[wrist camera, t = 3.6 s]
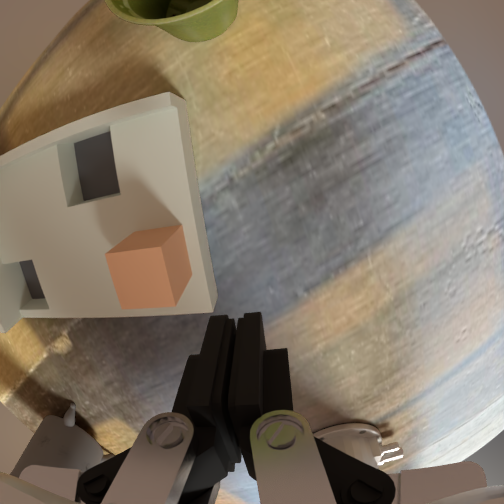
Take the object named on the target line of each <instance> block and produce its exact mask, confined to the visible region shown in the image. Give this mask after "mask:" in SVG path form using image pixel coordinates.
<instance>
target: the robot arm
mask: <svg viewBox="0 0 504 504" xmlns="http://www.w3.org/2000/svg"><path fill="white" fill-rule="evenodd" d="M242 455H243V458H244V461H245V464H246V467H247V470H248V473H249V476H251V477H252V478H253V479H255V480H256V481H257V485H258V491H259V497H260V503H261V504H504V485H498V486H489V487H487V483H486V476H485V473H484V471H483V469H482V468H481V467H480V466H479V465H478V464H477V463H474V462H471V461H468V462H459V463H454V464H448V465H442V466H436V467H429V468H421V469H412V470H401V471H400V473H397V474H386V473H384V472H383V471H381V470H379V467H378V466H381V465H383V463H384V462H388V461H394V460H397V459H401V458H403V449H402V447H399V444H398V442H394V443H390V444H388V445H384V446H382V437H381V434H380V432H379V430H378V429H377V428H375V427H374V426H371V425H368V424H363V423H349V424H342V425H336V426H333V427H329V428H326V429H323V430H320V431H318V432H316V433H314V434H313V433H312V431H311V428H310V425H309V423H308V421H307V420H306V419H305V418H304V417H303V416H302V415H301V414H299V413H296V412H294V411H293V403H292V392H291V382H290V371H289V361H288V351H287V348H283V349H273V350H266V344H265V336H264V329H263V322H262V315H261V312H254V313H244V318H238V323H237V331H236V325H235V321H234V319H229V318H228V316H227V315H218V316H210V319H209V323H208V326H207V330H206V333H205V337H204V341H203V344H202V348H201V352H200V354H197V355H190V356H189V358H188V360H187V363H186V366H185V370H184V373H183V376H182V379H181V383H180V386H179V389H178V392H177V396H176V399H175V402H174V406H173V409H172V412H167V413H162V414H159V415H156V416H154V417H152V418H151V419H150V420H148V421H147V422H146V424H145V425H144V426H143V428H142V429H141V431H140V433H139V435H138V437H137V439H136V440H135V442H134V444H133V446H132V447H131V448H129V449H127V450H125V451H124V452H122V453H120V454H118V455H116V456H114V457H112V458H110V459H108V460H106V461H104V462H102V463H100V464H98V465H96V466H94V467H92V468H90V469H88V470H87V471H85V472H81V471H80V470H79V469H66V468H56V467H47V466H39V465H30V466H28V467H26V468H25V469H24V470H23V471H22V472H21V474H20V476H19V478H17V477H15V476H12V475H9V474H6V473H3V472H0V504H215V501H216V498H217V494H218V491H219V488H220V481H221V480H222V479H223V478H225V477H226V476H227V475H228V472H234V469H235V463H240V462H241V456H242Z"/></svg>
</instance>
